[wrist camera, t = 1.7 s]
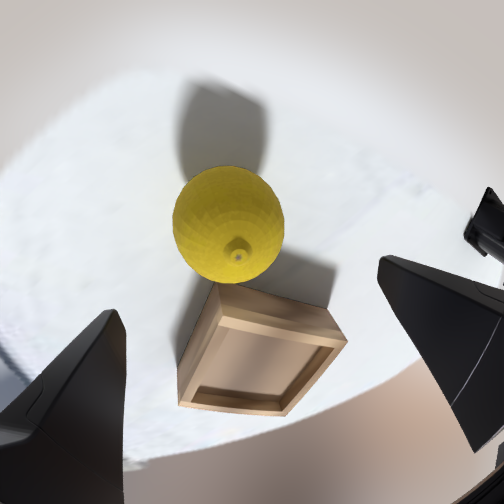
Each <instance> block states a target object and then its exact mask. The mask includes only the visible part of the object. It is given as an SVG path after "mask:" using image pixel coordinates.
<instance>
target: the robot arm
mask: <svg viewBox="0 0 504 504" xmlns="http://www.w3.org/2000/svg"><path fill="white" fill-rule="evenodd" d="M464 239H465V240H466V241H467V242H468V243H469V244H470V245H471V246H472V247H474V248H475V249H476V250H477V251H478V252H479V253H480V254H481V255H482V256H484V257H486V256H487V254H490V255H491V256H493V257H494V258H496V259H497V260H498V261H500V262H501V263H503V264H504V205H503V204H502V202H501V201H500V199H499V198H498V196H497V195H496V193H495V192H494V191H493V189H492V188H490V187H487V189H486V191H485V193H484V196H483V198H482V200H481V202H480V205H479V207H478V209H477V211H476V213H475V215H474V217H473V219H472V222H471V224H470V226H469V228H468V230H467V232H466V233H465V236H464ZM377 281H378V284H379V286H380V287H381V289H382V291H383V293H384V295H385V297H386V299H387V300H388V302H389V304H390V306H391V308H392V310H393V312H394V314H395V315H396V317H397V319H398V320H399V322H400V323H401V325H402V326H403V328H404V329H405V331H406V332H407V334H408V336H409V337H410V339H411V340H412V342H413V343H414V345H415V347H416V348H417V350H418V351H419V353H420V355H421V356H422V358H423V360H424V361H425V363H426V365H427V366H428V368H429V370H430V371H431V373H432V375H433V376H434V378H435V380H436V382H437V383H438V385H439V387H440V389H441V390H442V392H443V394H444V396H445V397H446V399H447V401H448V403H449V405H450V406H451V409H452V410H453V412H454V414H455V416H456V418H457V420H458V422H459V424H460V426H461V428H462V430H463V432H464V434H465V436H466V438H467V440H468V442H469V444H470V446H471V448H472V450H473V452H474V453H476V452H477V451H479V450H480V449H481V448H483V447H484V446H485V445H486V444H487V443H488V442H490V441H491V440H492V439H493V438H494V437H496V436H497V435H498V434H499V433H500V432H501V431H502V430H503V429H504V290H501V289H498V288H495V287H491V286H488V285H485V284H482V283H479V282H476V281H472V280H470V279H467V278H464V277H461V276H458V275H454V274H451V273H448V272H445V271H442V270H439V269H436V268H433V267H429V266H426V265H423V264H420V263H416V262H413V261H410V260H407V259H403V258H400V257H397V256H393V255H387V256H383V257H381V258H380V260H379V266H378V274H377ZM503 286H504V283H503ZM125 387H126V330H125V327H124V325H123V323H122V321H121V318H120V316H119V314H118V312H117V311H116V310H115V309H110V310H104V311H103V312H102V313H101V314H100V315H99V316H98V317H97V318H95V319H94V320H93V321H92V322H91V323H90V324H89V325H88V326H87V327H86V328H85V329H84V330H83V331H82V332H81V333H80V334H79V335H78V336H77V337H76V338H75V339H74V340H73V341H72V342H71V343H70V344H69V345H68V346H67V347H66V348H65V349H64V350H63V351H62V352H61V353H60V354H59V355H58V356H57V357H56V358H55V359H54V360H53V361H52V362H51V363H50V364H49V365H48V366H47V367H46V368H45V369H44V370H43V371H42V374H39V375H38V376H37V377H36V379H35V380H34V381H33V382H32V383H31V384H30V385H29V386H28V387H27V388H26V389H25V390H24V391H23V392H22V393H21V394H20V395H19V396H18V397H17V398H16V399H15V400H14V401H12V402H11V403H10V405H8V406H7V407H6V408H5V409H4V410H3V411H2V412H1V413H0V504H124V493H123V419H124V401H125ZM452 504H504V442H503V443H502V444H500V445H499V448H498V455H497V460H496V466H495V470H494V471H493V472H491V473H490V474H489V475H488V476H487V477H486V478H484V479H483V480H482V481H481V482H480V483H478V484H477V485H476V486H475V487H473V488H472V489H471V490H470V491H468V492H467V493H466V494H464V495H463V496H462V497H460V498H459V499H457V500H456V501H455V502H453V503H452Z"/></svg>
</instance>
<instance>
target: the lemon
mask: <svg viewBox="0 0 504 504" xmlns="http://www.w3.org/2000/svg"><path fill="white" fill-rule="evenodd" d="M173 234H174V238H175V241H176V244H177V247H178V250H179V252H180V253H181V255H182V256H183V258H184V259H185V261H186V262H187V264H188V265H189V266H190V267H191V268H192V269H194V270H195V271H196V272H197V273H198V274H200V275H201V276H203V277H205V278H207V279H209V280H212V281H216V282H220V283H240V282H245V281H248V280H250V279H252V278H255V277H257V276H258V275H260V274H261V273H262V272H264V271H265V270H266V269H267V268H268V267H269V266H270V265H271V264H272V263H273V262H274V261H275V259H276V257H277V255H278V253H279V251H280V249H281V246H282V242H283V238H284V216H283V213H282V209H281V205H280V202H279V200H278V198H277V197H276V195H275V193H274V192H273V190H272V188H271V187H270V186H269V185H268V184H267V183H266V182H265V181H264V180H263V179H262V178H261V177H259V176H258V175H256V174H254V173H252V172H251V171H249V170H247V169H244V168H239V167H235V166H217V167H214V168H211V169H207V170H205V171H203V172H201V173H200V174H198V175H196V176H195V177H193V178H192V179H191V180H190V181H189V182H188V183H187V184H186V185H185V186H184V188H183V189H182V191H181V193H180V195H179V196H178V198H177V200H176V204H175V208H174V212H173Z"/></svg>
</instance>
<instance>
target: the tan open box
mask: <svg viewBox="0 0 504 504" xmlns="http://www.w3.org/2000/svg"><path fill="white" fill-rule="evenodd" d="M347 342H348V341H347V339H346V337H345V336H344V334H343V333H342V331H341V330H340V328H339V326H338V325H337V323H336V322H335V320H334V319H333V317H332V316H331V314H330V313H329V311H328V309H324V308H321V307H317V306H313V305H309V304H305V303H301V302H298V301H294V300H290V299H287V298H283V297H279V296H276V295H272V294H268V293H265V292H261V291H257V290H254V289H250V288H247V287H243V286H240V285H236V284H233V283H220V282H216V281H215V283H214V285H213V287H212V290H211V292H210V294H209V296H208V298H207V301H206V303H205V305H204V308H203V310H202V312H201V314H200V317H199V319H198V321H197V323H196V326H195V328H194V330H193V333H192V335H191V337H190V340H189V342H188V344H187V346H186V349H185V351H184V353H183V356H182V358H181V360H180V363H179V365H178V367H177V390H178V406H182V407H188V408H194V409H201V410H209V411H217V412H225V413H235V414H247V415H262V416H286V415H287V414H288V413H289V412H290V411H291V410H292V409H293V407H294V406H295V405H296V404H297V403H298V402H299V401H300V400H301V399H302V397H303V396H304V395H305V394H306V393H307V392H308V391H309V389H310V388H311V387H312V386H313V385H314V384H315V382H316V381H317V380H318V379H319V378H320V376H321V375H322V374H323V373H324V372H325V370H326V369H327V368H328V367H329V365H330V364H331V363H332V362H333V360H334V359H335V358H336V357H337V355H338V354H339V353H340V352H341V350H342V349H343V348H344V346H345V345H346V344H347Z"/></svg>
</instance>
